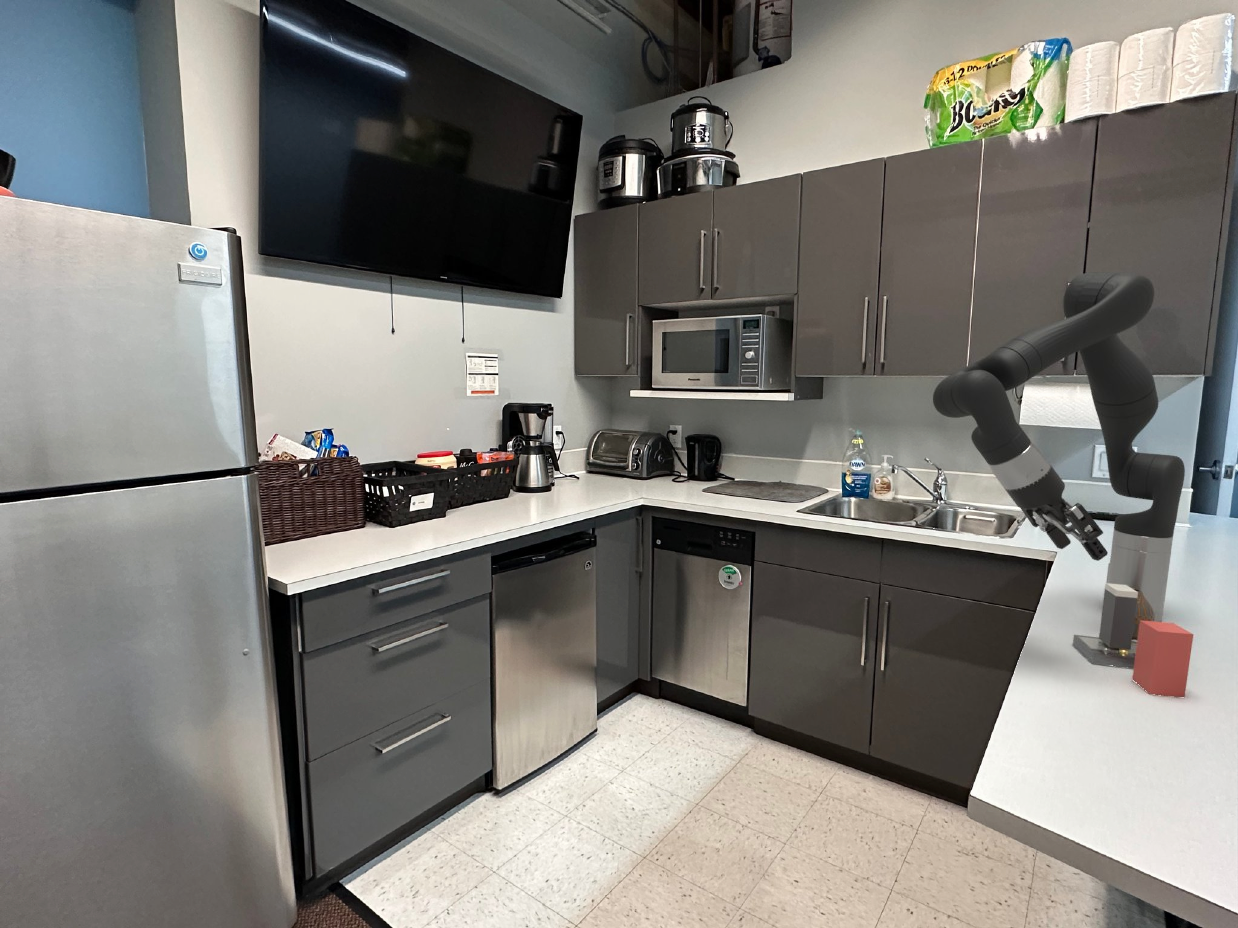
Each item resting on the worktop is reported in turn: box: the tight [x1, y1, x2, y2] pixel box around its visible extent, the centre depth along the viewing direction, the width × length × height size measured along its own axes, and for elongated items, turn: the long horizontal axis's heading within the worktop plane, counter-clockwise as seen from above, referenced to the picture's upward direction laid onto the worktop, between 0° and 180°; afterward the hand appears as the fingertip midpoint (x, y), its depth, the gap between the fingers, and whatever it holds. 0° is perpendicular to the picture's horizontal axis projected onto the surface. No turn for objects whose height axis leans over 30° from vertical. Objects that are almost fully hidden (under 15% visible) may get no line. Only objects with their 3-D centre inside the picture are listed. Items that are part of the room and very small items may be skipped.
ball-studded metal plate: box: [1072, 634, 1137, 669], centre depth 106 cm, size 13×8×5 cm, turn 73°
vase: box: [1132, 588, 1155, 639], centre depth 117 cm, size 7×7×9 cm
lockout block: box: [1131, 620, 1194, 698], centre depth 95 cm, size 4×4×10 cm
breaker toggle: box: [1098, 582, 1138, 650], centre depth 106 cm, size 3×4×10 cm
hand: (1082, 551), depth 103 cm, fingers open, 8 cm apart
